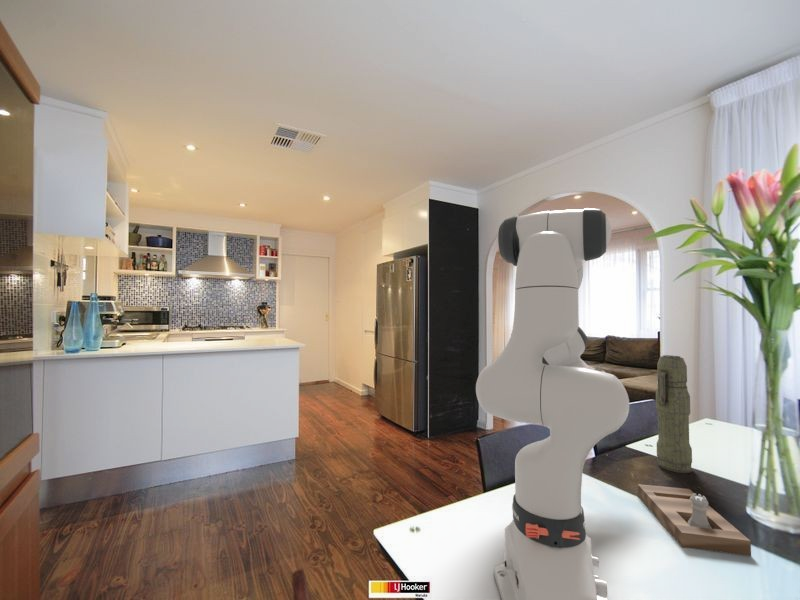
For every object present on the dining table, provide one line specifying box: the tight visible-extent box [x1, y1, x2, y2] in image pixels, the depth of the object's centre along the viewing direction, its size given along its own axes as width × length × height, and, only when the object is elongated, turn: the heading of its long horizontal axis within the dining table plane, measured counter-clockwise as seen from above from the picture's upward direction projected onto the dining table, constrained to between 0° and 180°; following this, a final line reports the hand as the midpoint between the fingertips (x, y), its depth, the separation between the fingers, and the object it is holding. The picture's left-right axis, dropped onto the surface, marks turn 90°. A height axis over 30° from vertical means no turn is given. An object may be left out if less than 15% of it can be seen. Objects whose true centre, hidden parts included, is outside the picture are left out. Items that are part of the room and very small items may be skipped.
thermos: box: [655, 354, 693, 474], centre depth 115 cm, size 9×12×35 cm
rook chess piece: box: [688, 493, 712, 529], centre depth 80 cm, size 4×4×8 cm
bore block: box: [637, 483, 752, 557], centre depth 84 cm, size 22×12×3 cm, turn 167°
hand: (612, 422), depth 95 cm, fingers open, 8 cm apart
